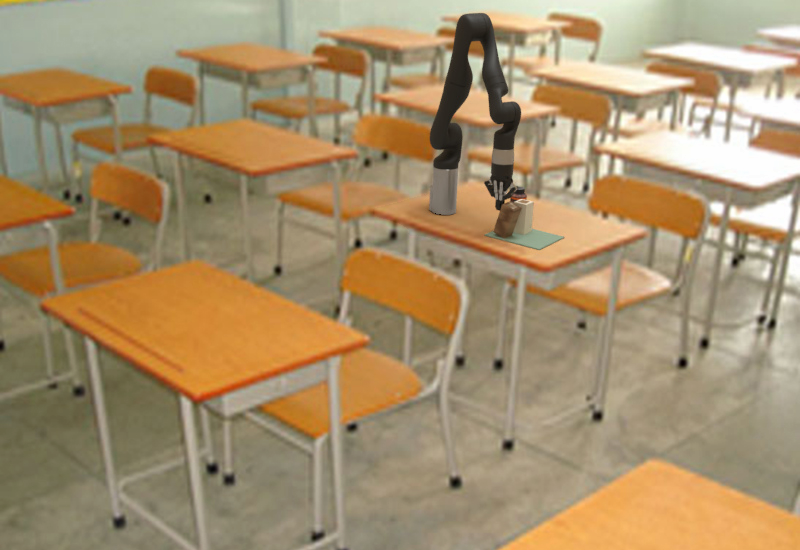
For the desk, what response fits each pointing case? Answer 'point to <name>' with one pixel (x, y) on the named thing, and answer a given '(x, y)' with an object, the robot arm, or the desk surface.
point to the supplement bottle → (518, 195)
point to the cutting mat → (530, 239)
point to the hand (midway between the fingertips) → (499, 209)
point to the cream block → (524, 217)
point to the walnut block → (507, 219)
